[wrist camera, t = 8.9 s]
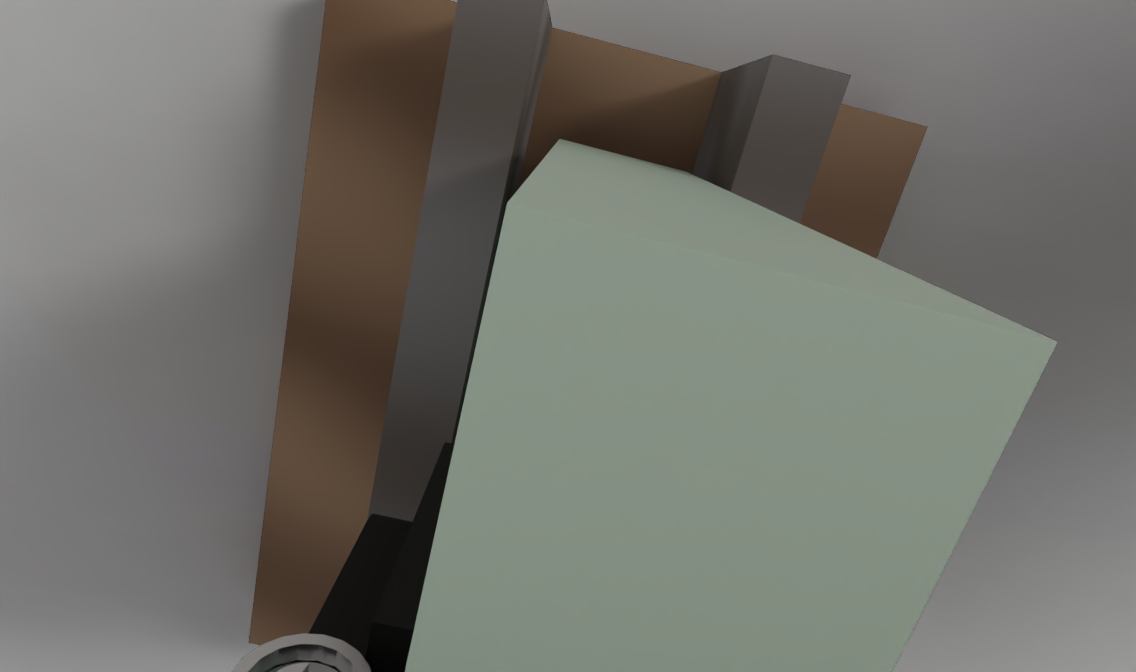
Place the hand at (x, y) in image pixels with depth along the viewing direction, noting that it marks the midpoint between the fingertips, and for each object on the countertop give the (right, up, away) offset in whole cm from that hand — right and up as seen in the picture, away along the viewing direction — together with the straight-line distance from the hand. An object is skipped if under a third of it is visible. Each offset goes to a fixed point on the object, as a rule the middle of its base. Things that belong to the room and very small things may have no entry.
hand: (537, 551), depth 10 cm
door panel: (0, +1, +4) cm, 4 cm away
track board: (0, +2, +6) cm, 7 cm away
